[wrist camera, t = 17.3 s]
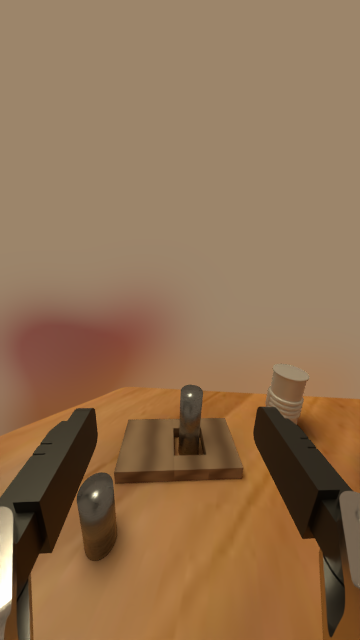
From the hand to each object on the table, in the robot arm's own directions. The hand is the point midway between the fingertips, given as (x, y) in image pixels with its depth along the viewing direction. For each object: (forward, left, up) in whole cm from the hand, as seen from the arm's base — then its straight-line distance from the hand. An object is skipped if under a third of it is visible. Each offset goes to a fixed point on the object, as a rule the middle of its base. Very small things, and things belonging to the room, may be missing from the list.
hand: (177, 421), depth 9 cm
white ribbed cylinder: (+26, +26, -28) cm, 46 cm away
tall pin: (+4, +21, -28) cm, 35 cm away
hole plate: (+2, +21, -28) cm, 35 cm away
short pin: (-9, +9, -28) cm, 31 cm away
